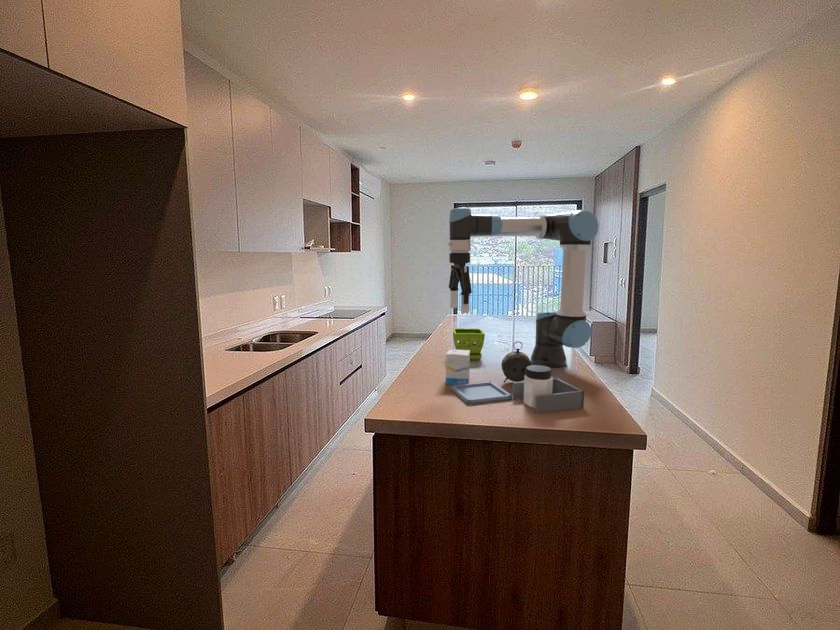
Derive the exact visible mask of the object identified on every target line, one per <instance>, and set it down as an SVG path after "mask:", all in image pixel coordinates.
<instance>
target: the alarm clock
mask: <svg viewBox="0 0 840 630" xmlns="http://www.w3.org/2000/svg"><path fill="white" fill-rule="evenodd" d="M517 343H520V344H521V346H520V348H516V347H515V345H516V344H517ZM523 346H524V345H523V343H522V342H521V341H515V342H514V343H513V345H512V347H513V349H514V350H515V351H511V352H509V353H507V354H506V355H505V356H504V357H503V358H502V361H501V369H502V372H503V373H502V374H503V375H504V376H505V379H504V380H503V383H506V382H507V380H509V381H511V382H521V381H524V376H525V375H526V367H528V366H531V365H533V363H531V358H529V356H528V355H527V354H526V353H524V352H523V351H520V350H521V349H522V348H523Z"/></svg>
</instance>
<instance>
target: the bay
mask: <svg viewBox="0 0 840 630" xmlns="http://www.w3.org/2000/svg"><path fill="white" fill-rule="evenodd" d="M512 399H513V400H517V399H524V381H521V382H514V381H512ZM584 402H585V390H583V389H581V388H579V387H576V386H574V385H572V384H570V383H568V382H566V381H564V380H562V379H560V378H558V377H553V387H552V394H546V395H537V396H535V408H534V414H536V415H538V414H546V413H552V412H553V413H554V412H561V411H570V410H578V409H583V408H584V407H585V405H584V404H585V403H584Z"/></svg>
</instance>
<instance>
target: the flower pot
mask: <svg viewBox="0 0 840 630" xmlns="http://www.w3.org/2000/svg"><path fill="white" fill-rule="evenodd" d="M485 336H486V334H485V332H484V331H483V329H481V328H459V327H458V328H455V327H454V328H452V337H453V343H454V344H453V345H454V348H455V349H457V350H470V360H477V361H478V360H480V359H481V358H482V357H483V354H482V349H483V346H484V343H485Z"/></svg>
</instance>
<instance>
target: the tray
mask: <svg viewBox="0 0 840 630" xmlns="http://www.w3.org/2000/svg"><path fill="white" fill-rule="evenodd" d="M450 390H451V391H452V392H453V393H454V394H456V396H458V397H459V398H460V399H461V400H462V401H463V402H464V403H465V404H467V406H468V405H475V404H477V405H478V404H485V403H494V402H495V403H496V402H504V401H510V400H511V401H512V400H513V394H511V393H509V392H508V391H506V390H505V389H503V388H502V387H501V386H499V385H497V384H495V382H493V381H483V382H481V381H480V382H473V383H472V382H471V383H468V384H460V385H453V384H450Z"/></svg>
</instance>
